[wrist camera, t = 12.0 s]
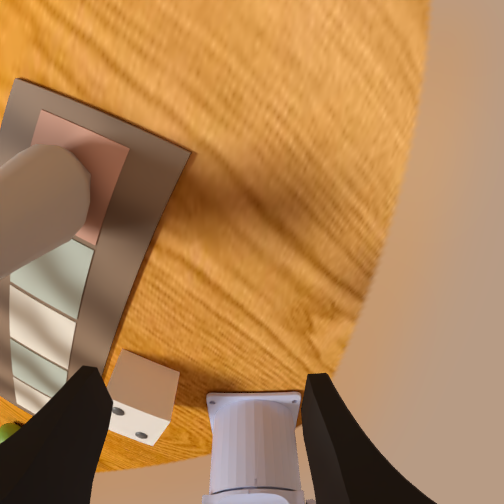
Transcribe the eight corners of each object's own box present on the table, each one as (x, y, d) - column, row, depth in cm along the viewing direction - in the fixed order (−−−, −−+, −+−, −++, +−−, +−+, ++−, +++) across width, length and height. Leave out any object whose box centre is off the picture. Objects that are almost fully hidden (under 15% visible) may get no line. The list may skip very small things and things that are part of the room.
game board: (84, 439, 31) (83, 442, 31) (-1, 392, 28) (-3, 395, 28) (191, 152, 16) (190, 153, 16) (17, 78, 13) (14, 78, 13)
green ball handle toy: (37, 444, 34) (15, 503, 23) (3, 421, 32) (-22, 479, 21) (43, 436, 32) (19, 501, 21) (6, 411, 30) (-23, 475, 19)
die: (162, 401, 26) (152, 446, 22) (111, 380, 25) (95, 424, 21) (180, 371, 24) (170, 422, 20) (122, 347, 23) (103, 396, 19)
